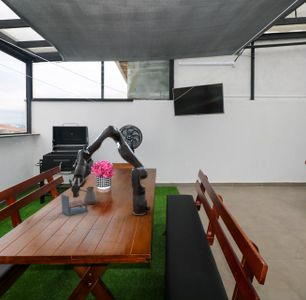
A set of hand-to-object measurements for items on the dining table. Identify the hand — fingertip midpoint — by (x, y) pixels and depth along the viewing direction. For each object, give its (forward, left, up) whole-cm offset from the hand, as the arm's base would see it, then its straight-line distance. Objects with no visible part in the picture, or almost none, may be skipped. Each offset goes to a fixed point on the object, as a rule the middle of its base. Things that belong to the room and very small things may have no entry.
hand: (74, 191), depth 188 cm
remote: (-1, -1, -4) cm, 5 cm away
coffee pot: (-14, -14, -16) cm, 26 cm away
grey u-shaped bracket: (0, -1, -15) cm, 16 cm away
